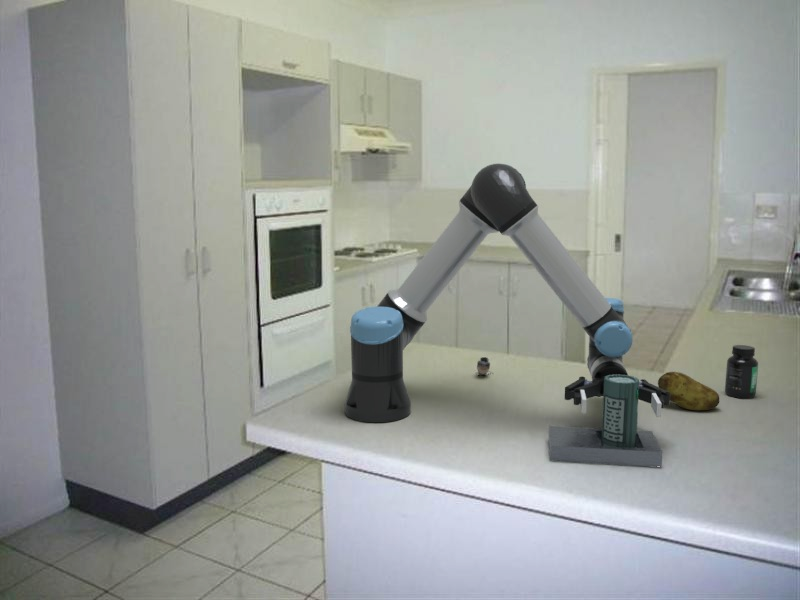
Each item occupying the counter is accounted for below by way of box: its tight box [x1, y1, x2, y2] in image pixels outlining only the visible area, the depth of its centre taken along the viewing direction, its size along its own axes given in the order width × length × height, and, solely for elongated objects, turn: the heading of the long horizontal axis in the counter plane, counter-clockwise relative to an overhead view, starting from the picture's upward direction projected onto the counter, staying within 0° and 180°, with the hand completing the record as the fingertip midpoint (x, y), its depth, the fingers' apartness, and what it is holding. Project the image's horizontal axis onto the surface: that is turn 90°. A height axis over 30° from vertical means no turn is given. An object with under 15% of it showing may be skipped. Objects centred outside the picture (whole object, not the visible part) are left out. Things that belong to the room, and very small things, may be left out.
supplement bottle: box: [724, 344, 759, 400], centre depth 170 cm, size 7×7×12 cm
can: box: [600, 374, 640, 448], centre depth 134 cm, size 6×6×15 cm
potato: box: [657, 371, 720, 411], centre depth 161 cm, size 8×13×8 cm, turn 51°
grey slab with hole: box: [548, 425, 664, 468], centre depth 135 cm, size 20×11×3 cm, turn 80°
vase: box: [474, 357, 494, 376], centre depth 187 cm, size 5×5×6 cm
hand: (621, 408), depth 132 cm, fingers open, 13 cm apart
